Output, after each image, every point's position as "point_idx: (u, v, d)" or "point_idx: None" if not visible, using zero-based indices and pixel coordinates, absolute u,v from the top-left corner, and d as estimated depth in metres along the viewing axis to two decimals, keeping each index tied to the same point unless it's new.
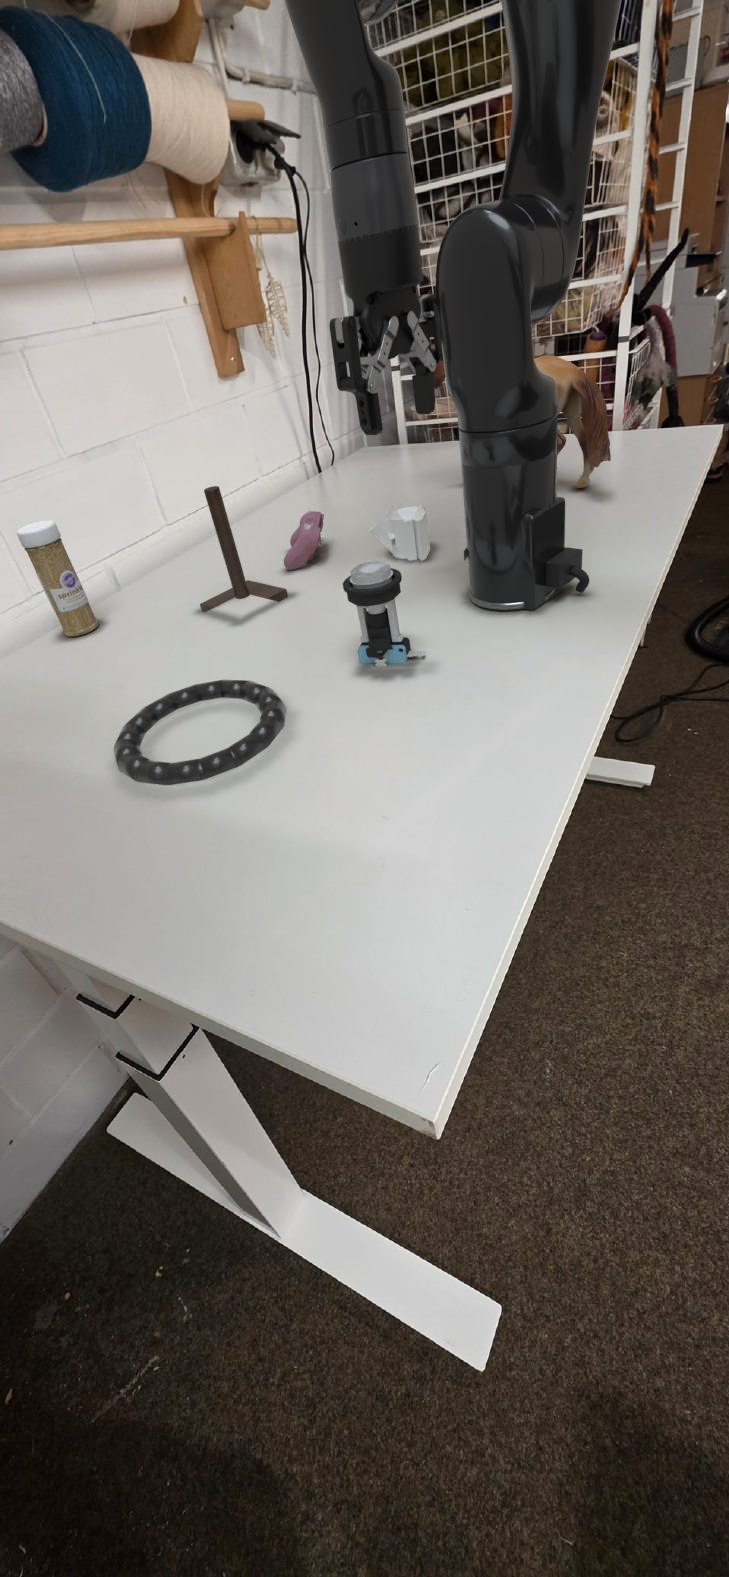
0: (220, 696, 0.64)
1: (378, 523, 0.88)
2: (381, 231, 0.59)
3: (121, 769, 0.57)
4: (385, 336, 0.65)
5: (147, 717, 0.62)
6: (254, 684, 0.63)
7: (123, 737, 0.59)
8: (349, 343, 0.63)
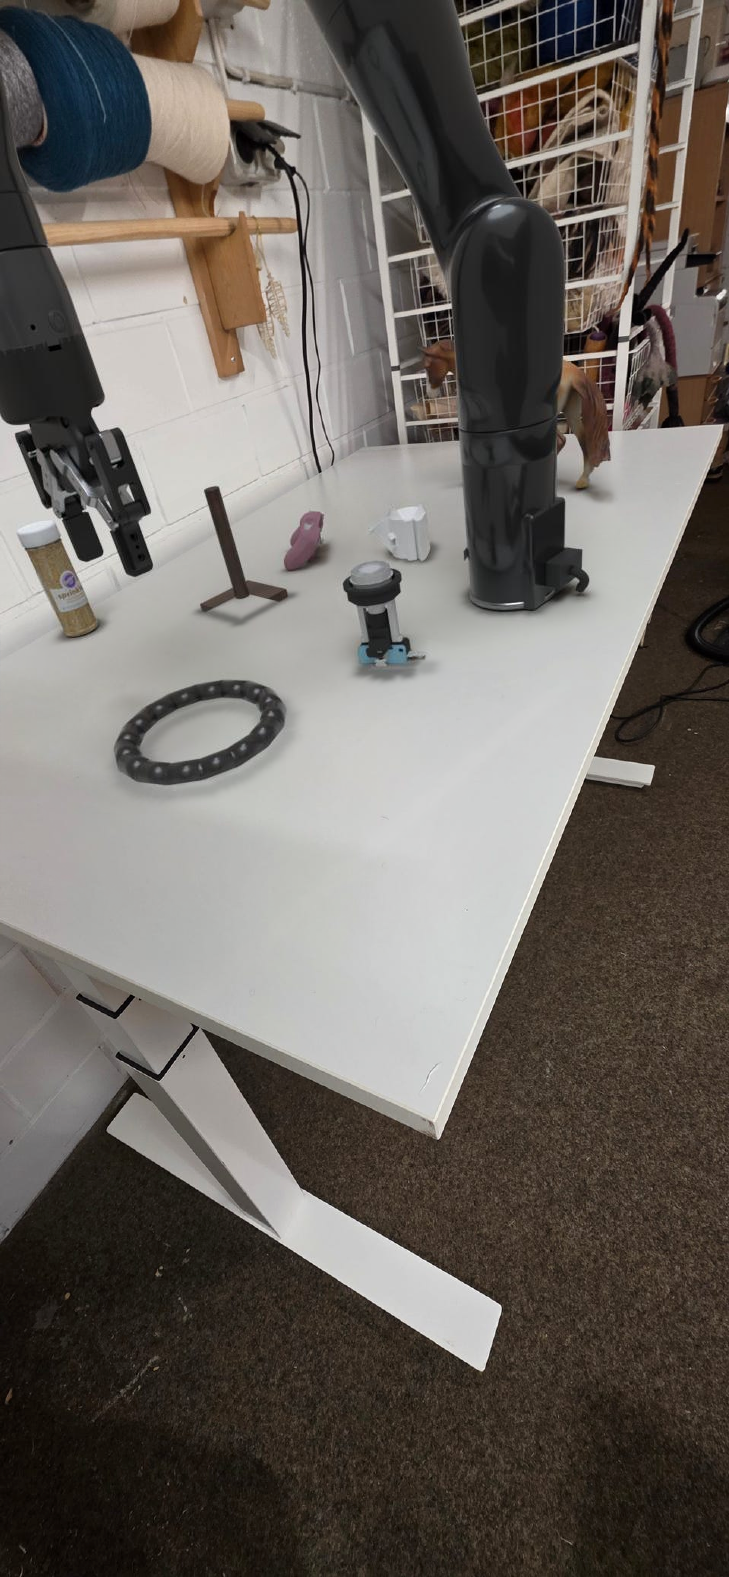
0: (220, 696, 0.64)
1: (378, 523, 0.88)
2: None
3: (121, 769, 0.57)
4: (42, 467, 0.53)
5: (147, 717, 0.62)
6: (254, 684, 0.63)
7: (123, 737, 0.59)
8: (25, 459, 0.55)
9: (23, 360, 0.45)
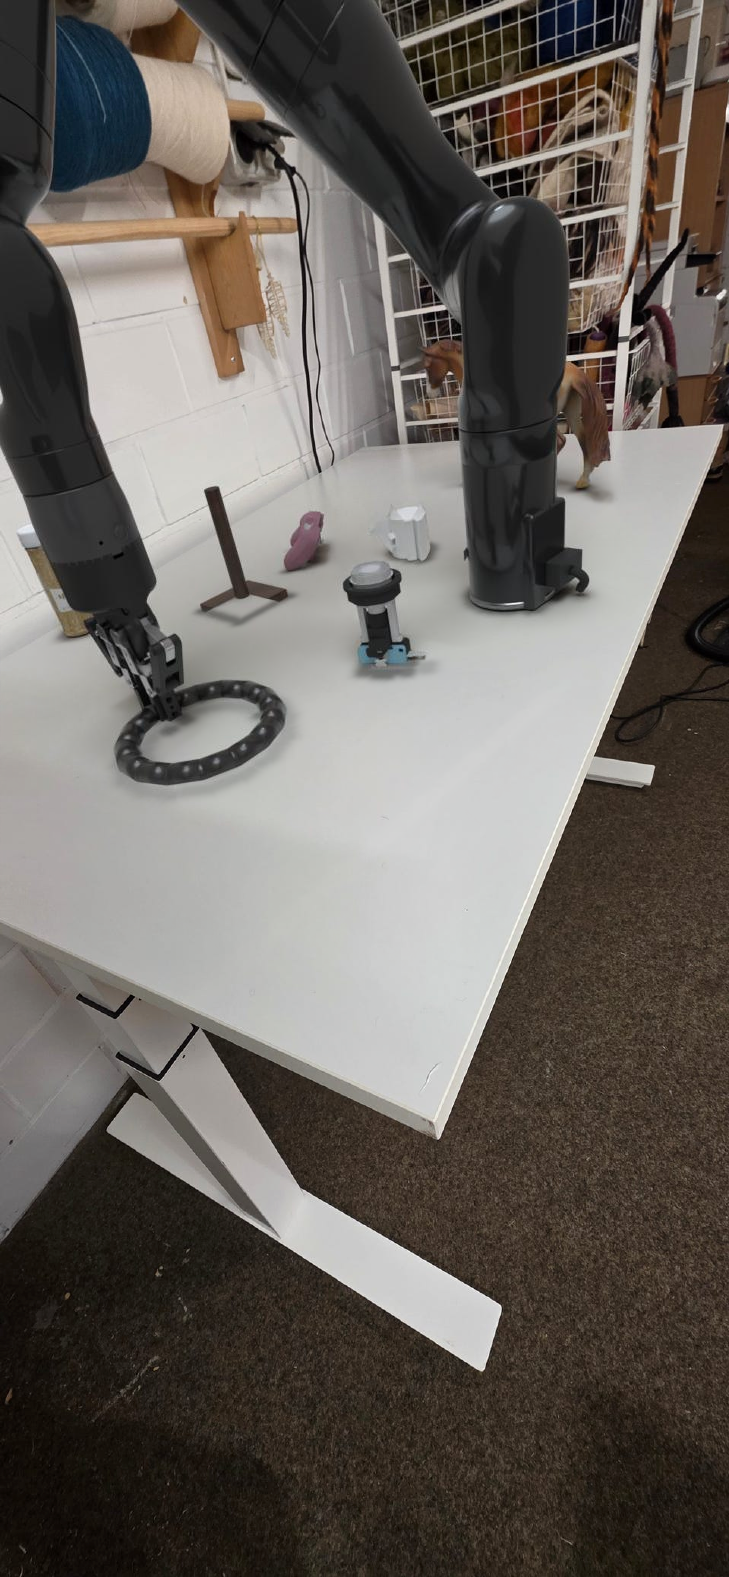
0: (220, 696, 0.64)
1: (378, 523, 0.88)
2: None
3: (121, 769, 0.57)
4: (105, 641, 0.60)
5: (147, 717, 0.62)
6: (254, 684, 0.63)
7: (123, 737, 0.59)
8: (95, 641, 0.63)
9: (92, 568, 0.52)
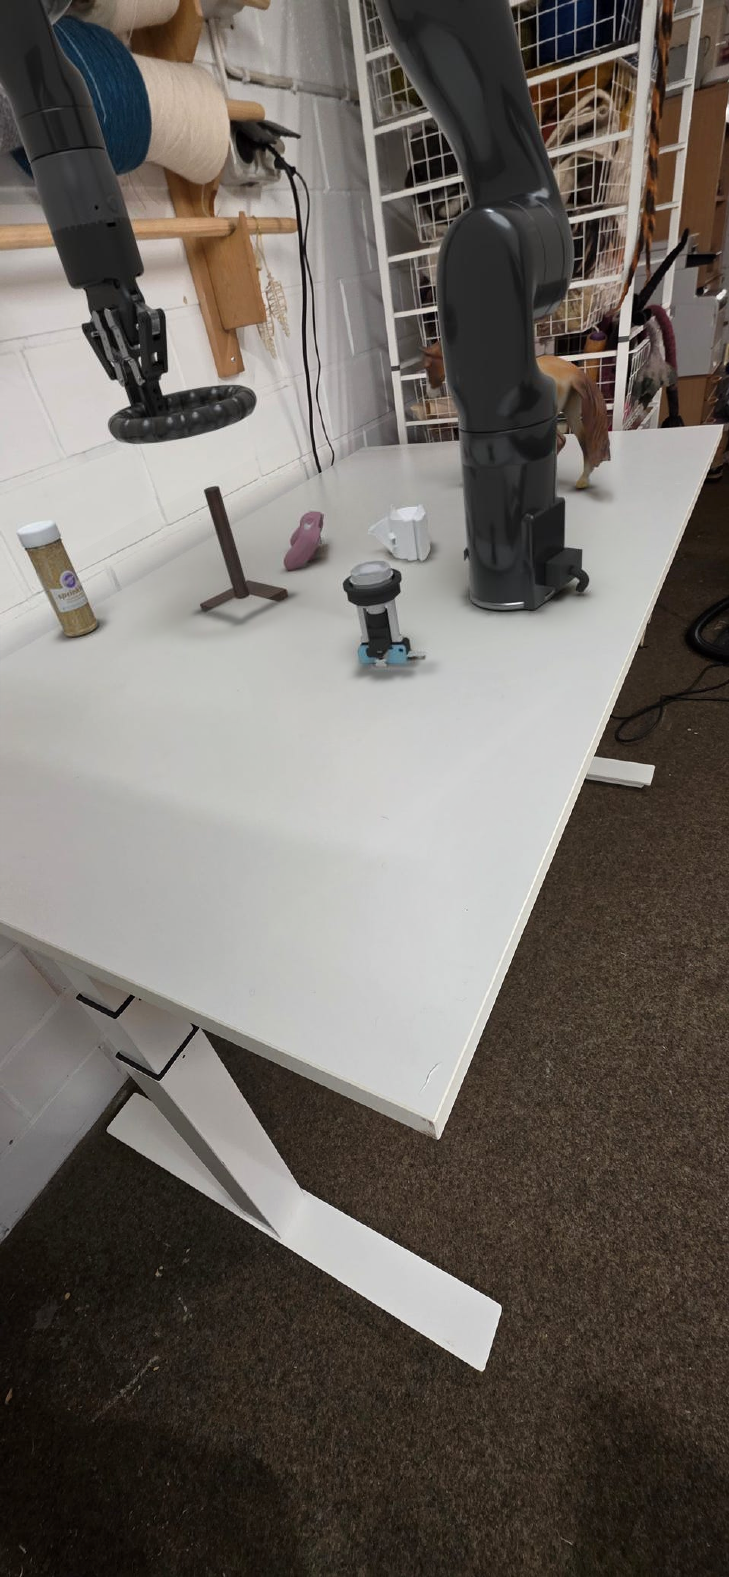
0: (200, 400, 0.74)
1: (378, 523, 0.88)
2: None
3: (114, 431, 0.67)
4: (100, 333, 0.70)
5: (136, 409, 0.72)
6: (229, 385, 0.73)
7: (116, 414, 0.69)
8: (92, 347, 0.73)
9: (89, 233, 0.62)
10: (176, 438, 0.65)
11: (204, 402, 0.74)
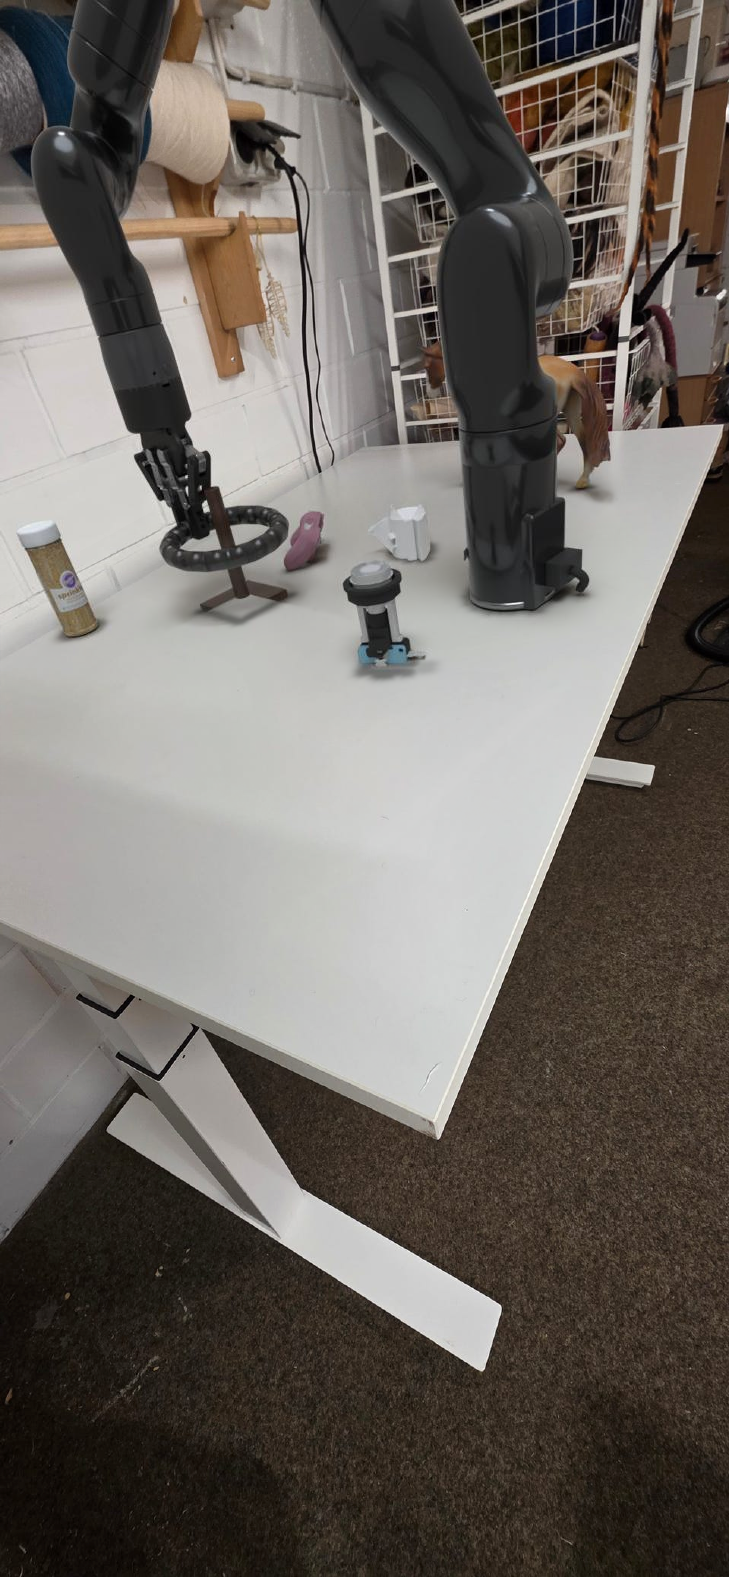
0: (237, 518, 0.84)
1: (378, 523, 0.88)
2: None
3: (167, 559, 0.77)
4: (152, 465, 0.80)
5: (182, 529, 0.82)
6: (264, 507, 0.83)
7: (166, 539, 0.79)
8: (142, 472, 0.83)
9: (147, 393, 0.72)
10: (222, 569, 0.75)
11: (241, 519, 0.84)
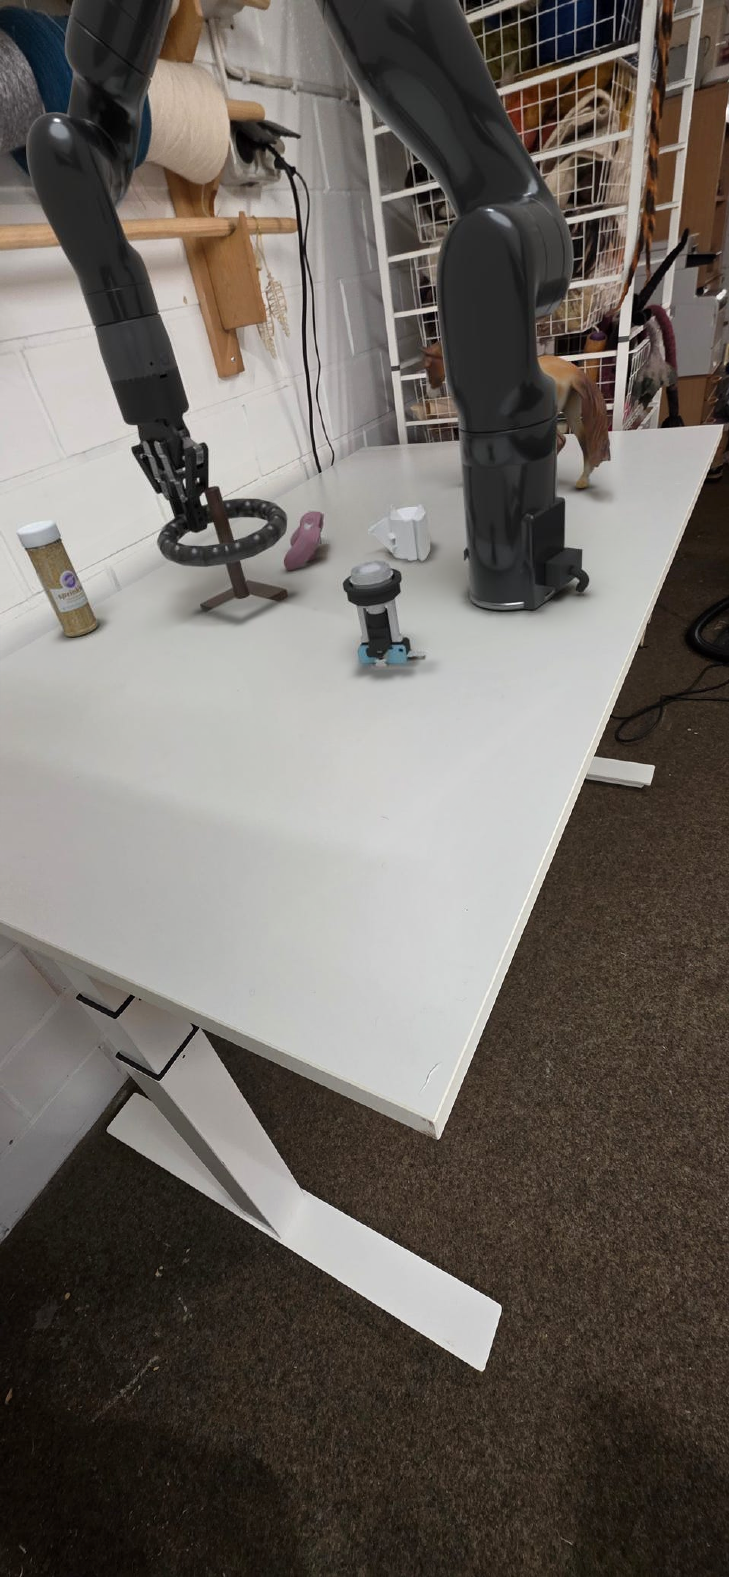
0: (235, 511, 0.84)
1: (378, 523, 0.88)
2: None
3: (165, 553, 0.76)
4: (149, 458, 0.79)
5: (180, 522, 0.81)
6: (262, 500, 0.82)
7: (164, 533, 0.79)
8: (140, 465, 0.82)
9: (144, 384, 0.71)
10: (220, 564, 0.75)
11: (239, 512, 0.84)
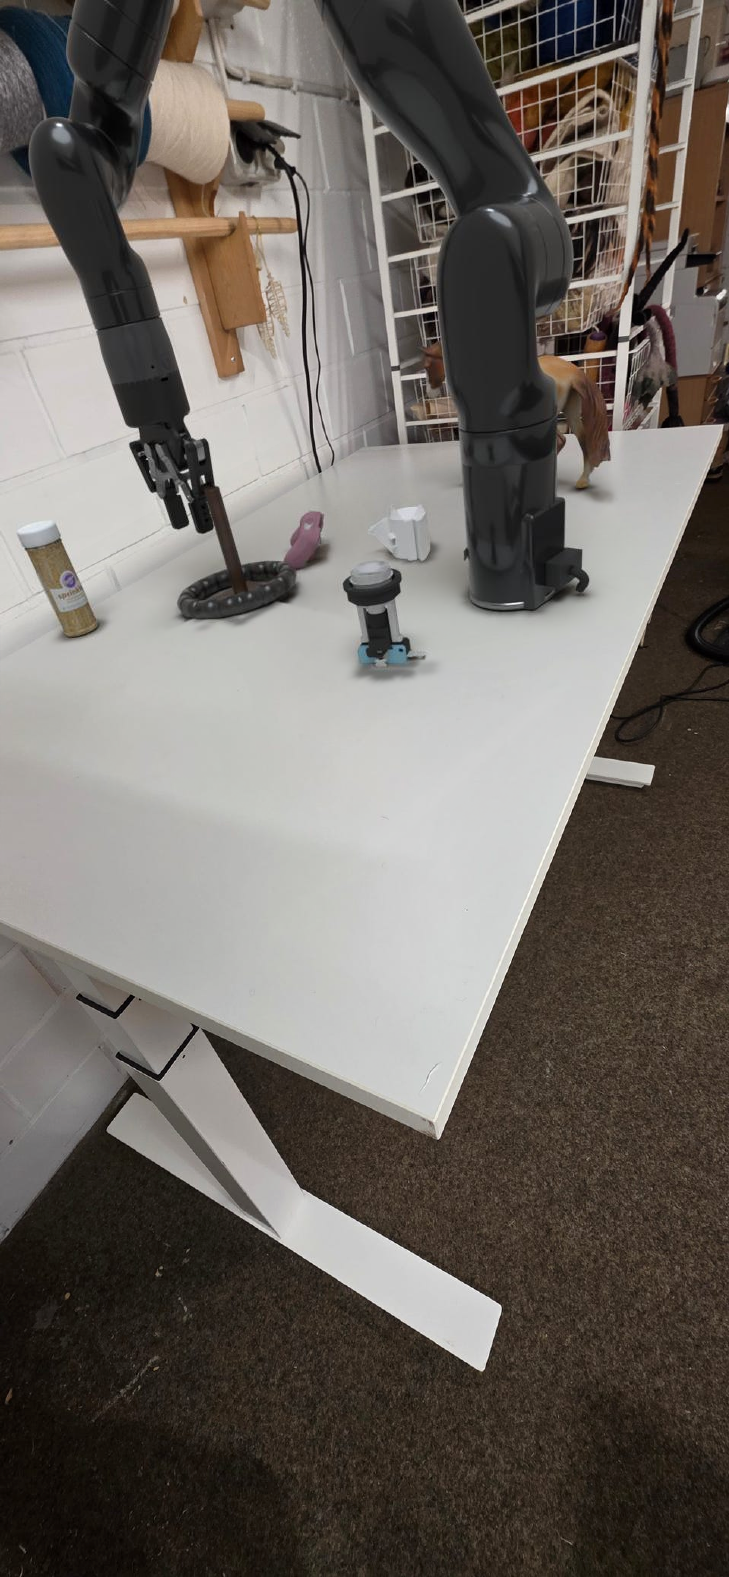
0: (249, 573, 0.90)
1: (378, 523, 0.88)
2: None
3: (184, 610, 0.82)
4: (148, 458, 0.79)
5: (198, 586, 0.88)
6: (273, 561, 0.88)
7: (183, 594, 0.85)
8: (136, 461, 0.83)
9: (145, 387, 0.72)
10: (234, 614, 0.80)
11: (252, 574, 0.90)
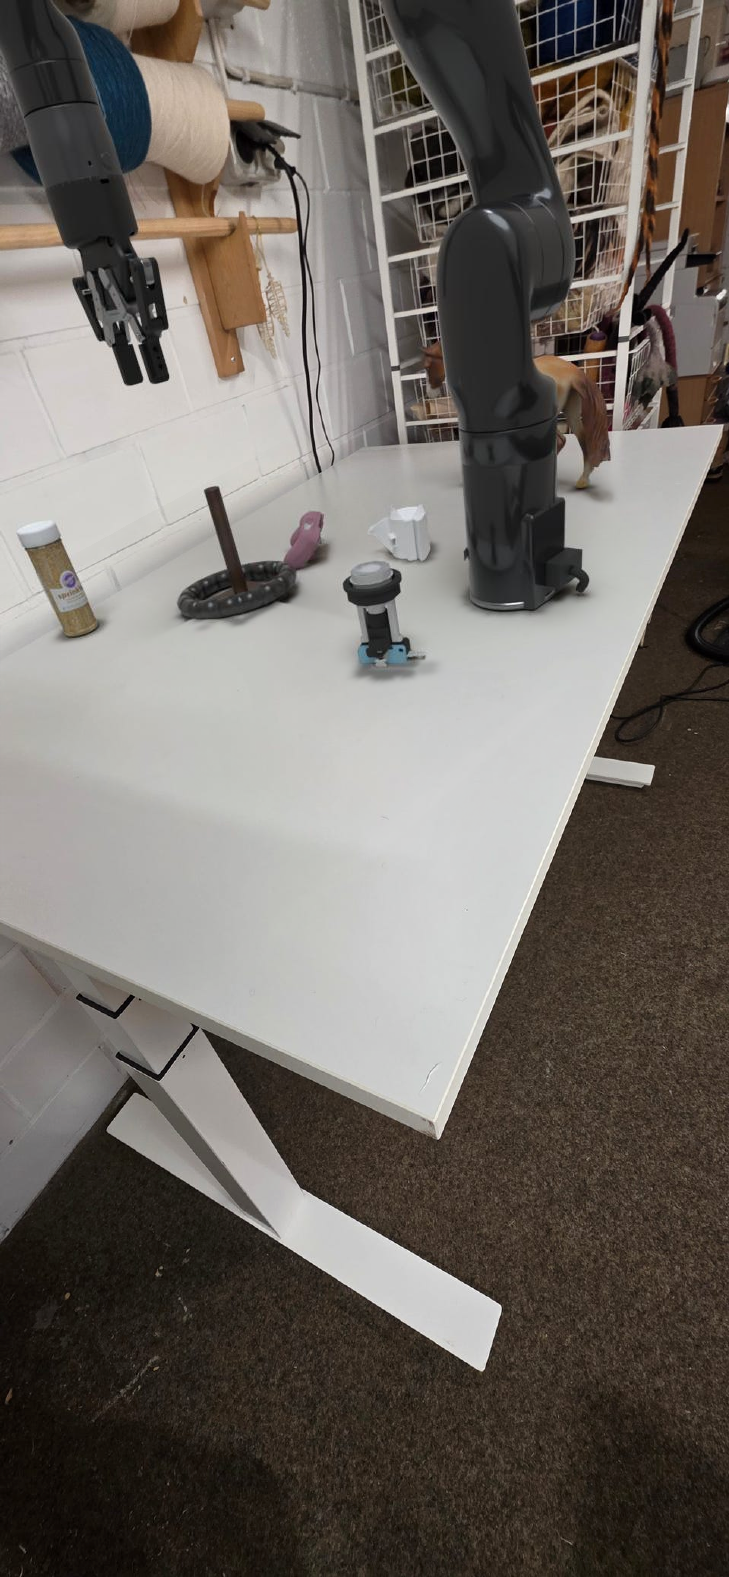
0: (249, 573, 0.90)
1: (378, 523, 0.88)
2: None
3: (184, 610, 0.82)
4: (93, 292, 0.70)
5: (198, 586, 0.88)
6: (273, 561, 0.88)
7: (183, 594, 0.85)
8: (81, 302, 0.73)
9: (82, 189, 0.62)
10: (234, 614, 0.80)
11: (252, 574, 0.90)
